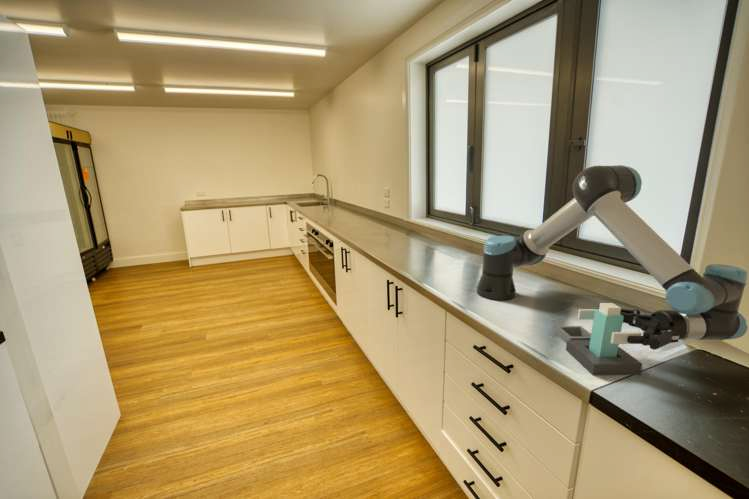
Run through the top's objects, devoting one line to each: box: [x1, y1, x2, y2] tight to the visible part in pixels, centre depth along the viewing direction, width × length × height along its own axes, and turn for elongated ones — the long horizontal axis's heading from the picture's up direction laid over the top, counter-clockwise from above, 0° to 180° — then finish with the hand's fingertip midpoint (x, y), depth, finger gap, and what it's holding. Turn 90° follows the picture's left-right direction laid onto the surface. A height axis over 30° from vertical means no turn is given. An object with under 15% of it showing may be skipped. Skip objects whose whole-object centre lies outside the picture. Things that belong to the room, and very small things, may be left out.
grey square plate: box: [555, 325, 591, 345], centre depth 102 cm, size 8×8×2 cm
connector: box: [589, 302, 624, 358], centre depth 89 cm, size 4×4×16 cm
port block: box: [565, 340, 643, 376], centre depth 91 cm, size 12×12×3 cm
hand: (594, 325), depth 88 cm, fingers open, 13 cm apart
